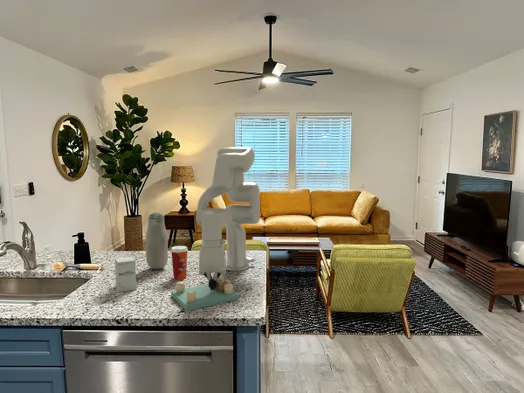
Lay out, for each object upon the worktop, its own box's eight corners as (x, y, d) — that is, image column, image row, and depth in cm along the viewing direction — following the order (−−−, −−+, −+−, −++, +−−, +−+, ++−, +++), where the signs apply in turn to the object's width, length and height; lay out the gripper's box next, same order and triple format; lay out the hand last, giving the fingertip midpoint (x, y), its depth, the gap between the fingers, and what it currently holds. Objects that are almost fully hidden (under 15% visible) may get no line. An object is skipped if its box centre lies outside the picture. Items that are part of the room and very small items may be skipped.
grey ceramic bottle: (142, 270, 178) (140, 213, 175) (156, 264, 188) (154, 210, 185) (159, 272, 174) (157, 214, 172) (172, 266, 184) (170, 211, 181)
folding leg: (212, 283, 152) (212, 274, 152) (218, 282, 153) (217, 273, 152) (219, 292, 142) (219, 282, 142) (226, 291, 143) (225, 281, 143)
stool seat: (219, 286, 155) (219, 273, 155) (238, 299, 141) (238, 285, 140) (171, 295, 145) (171, 282, 144) (186, 311, 130) (185, 296, 130)
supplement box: (117, 292, 148) (116, 262, 147) (115, 287, 155) (114, 258, 154) (136, 289, 152) (135, 260, 151) (134, 284, 158) (132, 255, 157)
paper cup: (184, 280, 163) (183, 249, 162) (168, 279, 164) (167, 249, 163) (191, 275, 171) (190, 245, 169) (175, 274, 172) (175, 245, 171)
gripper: (232, 241, 145) (232, 285, 147) (194, 241, 145) (195, 286, 147) (230, 245, 138) (231, 292, 140) (190, 245, 138) (191, 292, 139)
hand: (212, 289), depth 143 cm, fingers closed
